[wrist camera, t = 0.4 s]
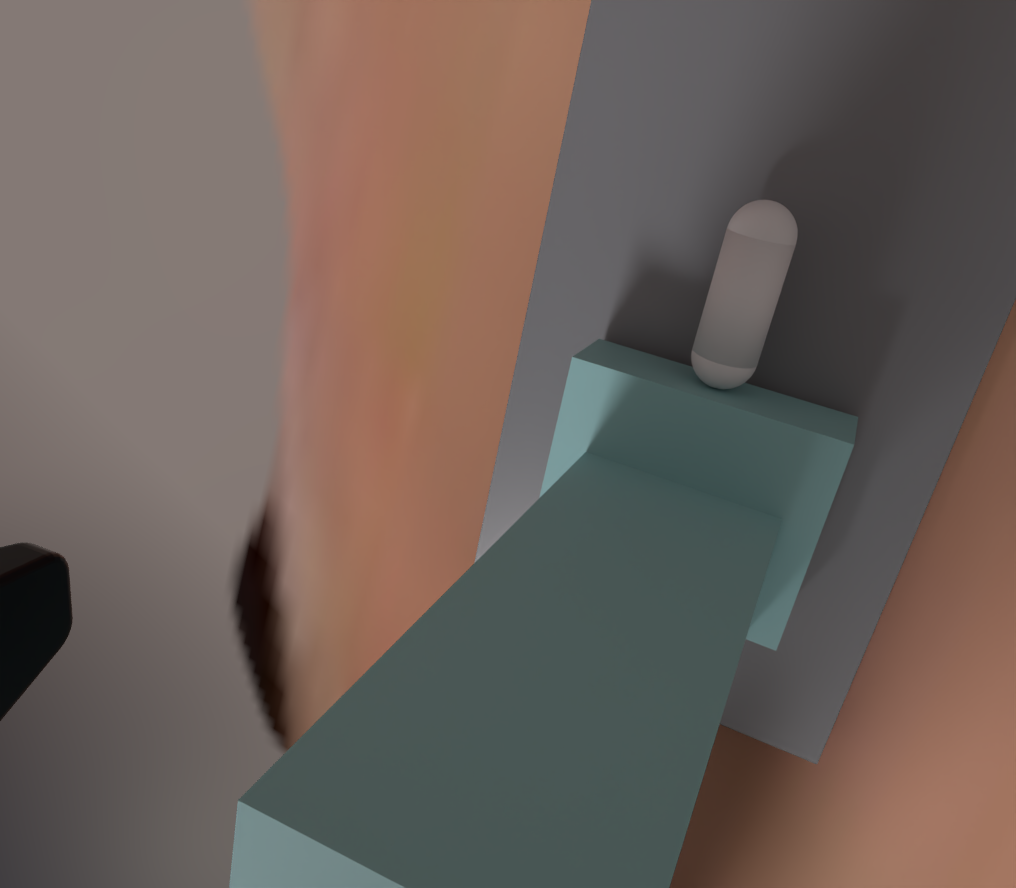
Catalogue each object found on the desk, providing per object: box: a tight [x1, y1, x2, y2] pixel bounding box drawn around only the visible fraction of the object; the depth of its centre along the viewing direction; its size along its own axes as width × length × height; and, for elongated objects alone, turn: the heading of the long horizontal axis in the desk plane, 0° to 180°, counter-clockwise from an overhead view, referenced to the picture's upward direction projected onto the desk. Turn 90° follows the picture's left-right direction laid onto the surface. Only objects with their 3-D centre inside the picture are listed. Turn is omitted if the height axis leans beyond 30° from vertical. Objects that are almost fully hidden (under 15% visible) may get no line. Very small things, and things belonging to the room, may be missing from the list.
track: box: [475, 0, 1016, 764], centre depth 16 cm, size 23×10×10 cm, turn 168°
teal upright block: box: [229, 200, 858, 888], centre depth 14 cm, size 9×6×14 cm, turn 168°
